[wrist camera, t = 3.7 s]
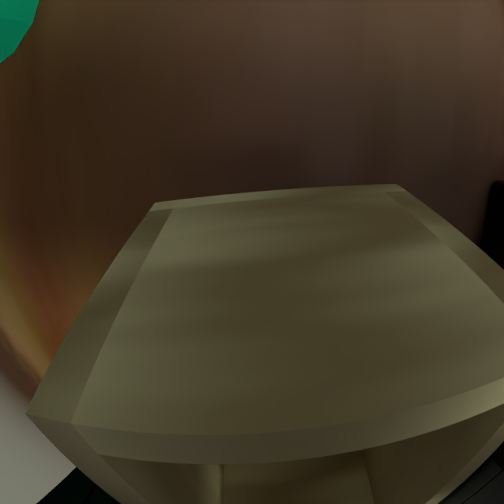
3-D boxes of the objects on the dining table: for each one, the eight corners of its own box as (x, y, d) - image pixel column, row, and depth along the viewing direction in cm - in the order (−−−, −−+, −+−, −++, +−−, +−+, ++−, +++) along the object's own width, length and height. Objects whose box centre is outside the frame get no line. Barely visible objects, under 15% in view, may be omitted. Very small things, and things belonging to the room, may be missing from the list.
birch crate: (396, 183, 7) (572, 343, 2) (360, 404, 12) (394, 534, 6) (155, 202, 8) (25, 413, 2) (213, 419, 12) (205, 556, 6)
